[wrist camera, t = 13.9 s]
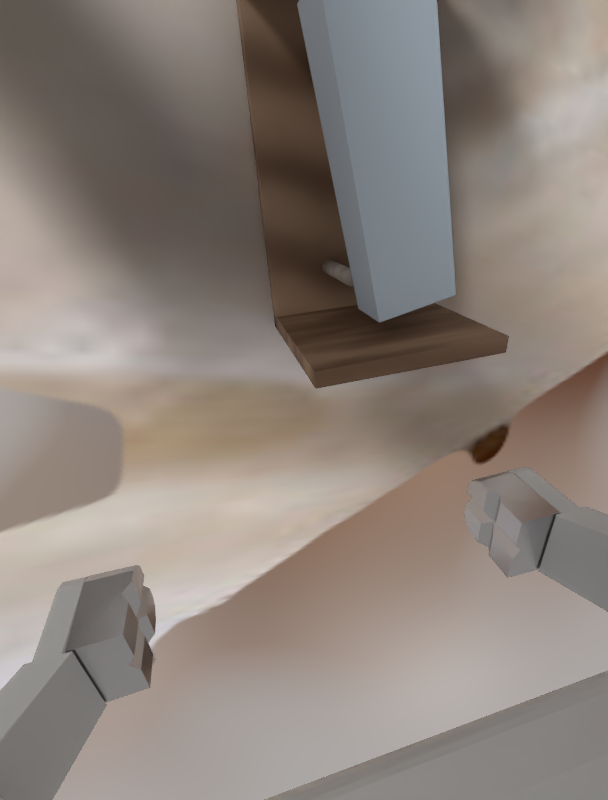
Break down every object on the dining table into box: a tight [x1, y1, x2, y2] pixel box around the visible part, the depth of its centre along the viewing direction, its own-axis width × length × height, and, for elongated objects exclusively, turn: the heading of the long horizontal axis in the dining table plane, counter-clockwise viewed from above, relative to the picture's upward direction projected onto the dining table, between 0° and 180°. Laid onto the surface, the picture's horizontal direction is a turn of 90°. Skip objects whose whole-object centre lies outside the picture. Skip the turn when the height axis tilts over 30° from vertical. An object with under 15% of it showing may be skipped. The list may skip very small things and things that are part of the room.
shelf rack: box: [236, 0, 509, 388], centre depth 27 cm, size 24×14×14 cm, turn 5°
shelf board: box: [297, 0, 456, 323], centre depth 25 cm, size 18×6×4 cm, turn 15°
